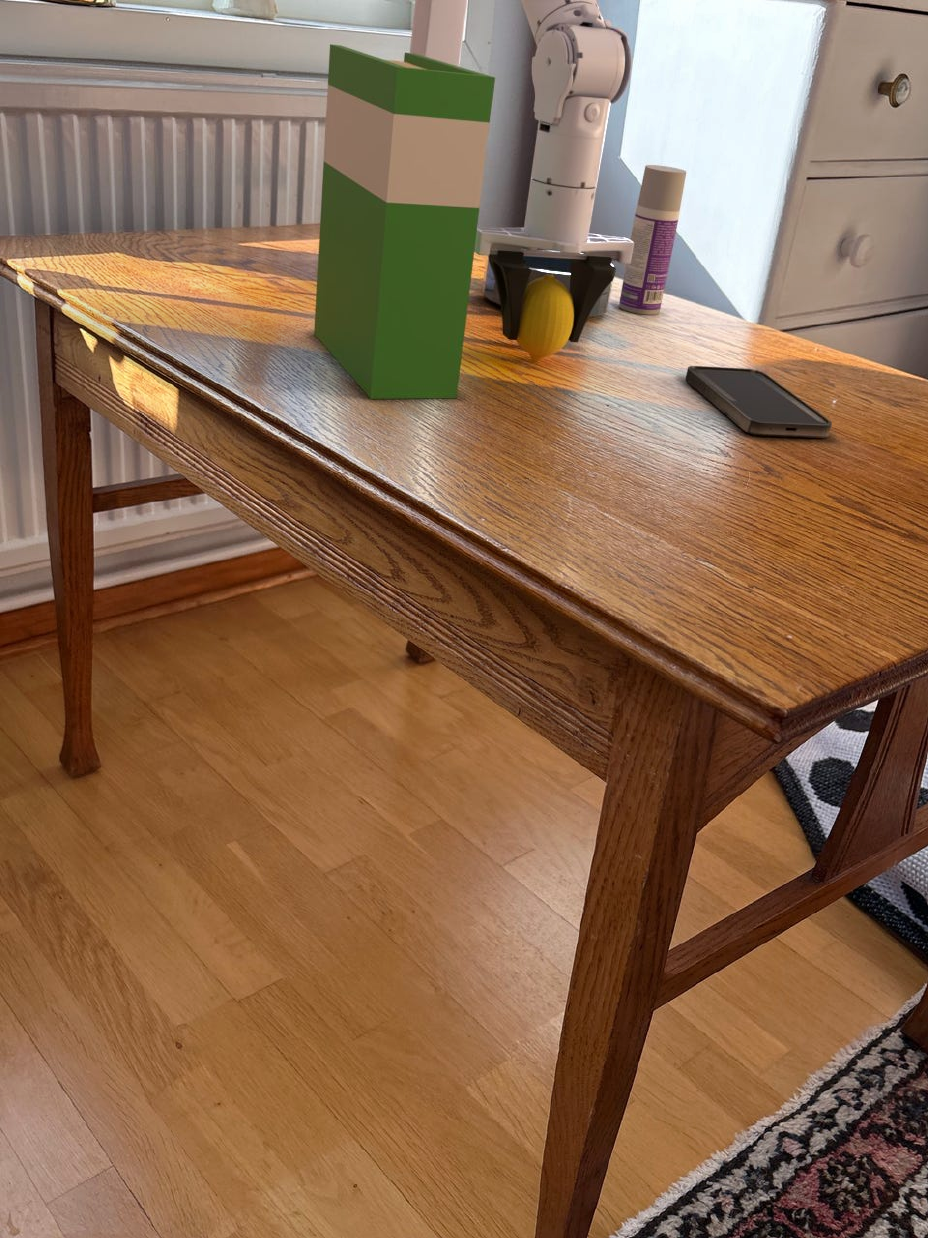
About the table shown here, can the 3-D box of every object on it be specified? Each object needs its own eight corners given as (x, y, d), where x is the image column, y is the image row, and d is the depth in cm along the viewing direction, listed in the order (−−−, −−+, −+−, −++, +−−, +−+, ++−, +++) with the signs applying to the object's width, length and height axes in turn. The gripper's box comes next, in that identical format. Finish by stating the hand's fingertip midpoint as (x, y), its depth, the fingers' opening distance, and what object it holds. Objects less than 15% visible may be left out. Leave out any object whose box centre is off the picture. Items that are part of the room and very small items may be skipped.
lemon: (548, 374, 102) (563, 285, 98) (496, 359, 104) (508, 270, 100) (576, 363, 106) (591, 276, 102) (525, 348, 108) (537, 263, 104)
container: (658, 306, 130) (686, 168, 123) (660, 316, 126) (689, 174, 119) (618, 301, 130) (643, 162, 123) (619, 310, 126) (645, 168, 119)
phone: (759, 369, 107) (837, 425, 94) (756, 380, 108) (833, 438, 95) (682, 365, 105) (751, 421, 92) (680, 376, 106) (748, 434, 93)
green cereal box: (314, 333, 104) (330, 43, 93) (390, 334, 107) (415, 53, 95) (370, 398, 90) (397, 67, 79) (456, 397, 93) (495, 77, 81)
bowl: (469, 307, 119) (475, 259, 117) (495, 282, 131) (501, 237, 129) (598, 330, 117) (606, 282, 115) (613, 302, 129) (621, 257, 127)
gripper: (498, 184, 92) (478, 348, 98) (659, 196, 96) (629, 353, 103) (473, 169, 98) (455, 325, 104) (625, 181, 102) (599, 330, 109)
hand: (539, 338), depth 104 cm, fingers closed on lemon, 5 cm apart
